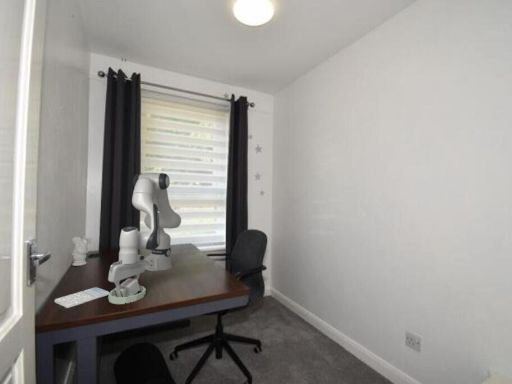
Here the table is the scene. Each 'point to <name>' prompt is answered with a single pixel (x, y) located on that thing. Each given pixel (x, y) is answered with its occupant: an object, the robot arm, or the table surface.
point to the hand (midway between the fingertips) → (127, 285)
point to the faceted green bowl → (126, 299)
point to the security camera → (127, 288)
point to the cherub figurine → (80, 250)
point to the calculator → (81, 297)
